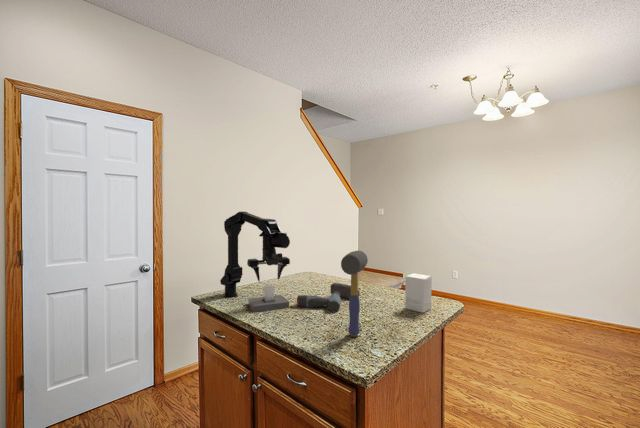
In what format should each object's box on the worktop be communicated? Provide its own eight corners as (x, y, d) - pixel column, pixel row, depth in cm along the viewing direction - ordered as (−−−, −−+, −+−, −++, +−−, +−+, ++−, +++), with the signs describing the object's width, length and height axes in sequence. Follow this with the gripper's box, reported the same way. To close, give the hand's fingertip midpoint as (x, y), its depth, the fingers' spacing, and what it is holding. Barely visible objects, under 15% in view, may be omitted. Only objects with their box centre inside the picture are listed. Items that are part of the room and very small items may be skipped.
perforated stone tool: (360, 298, 147) (361, 284, 147) (358, 301, 142) (358, 287, 142) (333, 294, 153) (333, 281, 153) (329, 297, 148) (329, 283, 148)
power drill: (302, 298, 148) (341, 300, 145) (295, 310, 129) (340, 313, 127) (302, 287, 148) (342, 289, 145) (295, 298, 129) (340, 301, 127)
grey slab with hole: (248, 303, 136) (248, 298, 136) (281, 299, 143) (281, 294, 143) (253, 312, 125) (253, 306, 125) (289, 307, 132) (289, 301, 132)
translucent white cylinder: (263, 304, 135) (263, 285, 135) (271, 303, 137) (271, 284, 137) (265, 307, 132) (265, 287, 131) (273, 306, 133) (273, 287, 133)
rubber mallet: (348, 327, 111) (349, 248, 110) (368, 330, 108) (369, 250, 107) (338, 340, 99) (339, 253, 99) (359, 344, 96) (360, 254, 96)
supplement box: (431, 308, 133) (432, 275, 133) (423, 313, 126) (424, 279, 126) (413, 303, 139) (413, 272, 139) (404, 308, 132) (404, 275, 132)
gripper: (252, 249, 123) (251, 286, 123) (293, 247, 130) (293, 282, 131) (247, 246, 133) (247, 280, 133) (286, 244, 140) (286, 277, 141)
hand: (268, 280), depth 134 cm, fingers open, 9 cm apart
